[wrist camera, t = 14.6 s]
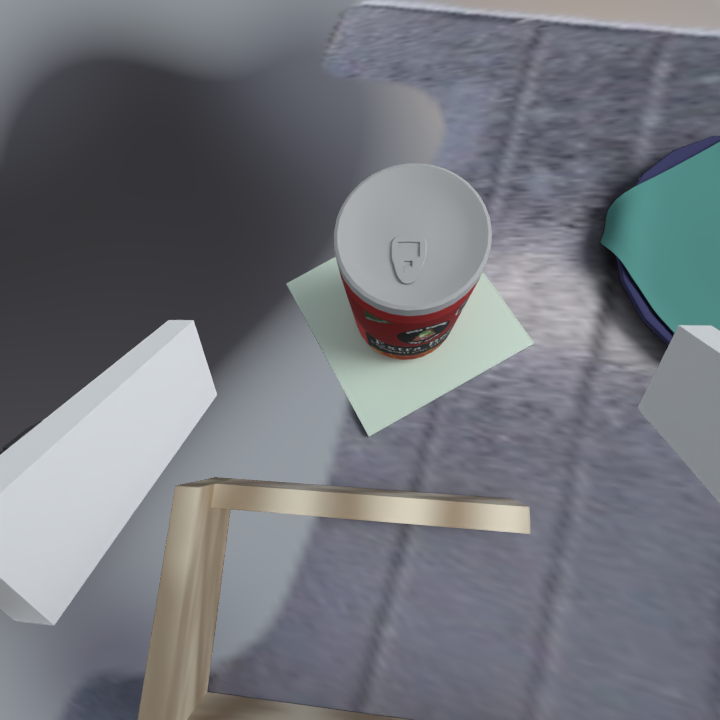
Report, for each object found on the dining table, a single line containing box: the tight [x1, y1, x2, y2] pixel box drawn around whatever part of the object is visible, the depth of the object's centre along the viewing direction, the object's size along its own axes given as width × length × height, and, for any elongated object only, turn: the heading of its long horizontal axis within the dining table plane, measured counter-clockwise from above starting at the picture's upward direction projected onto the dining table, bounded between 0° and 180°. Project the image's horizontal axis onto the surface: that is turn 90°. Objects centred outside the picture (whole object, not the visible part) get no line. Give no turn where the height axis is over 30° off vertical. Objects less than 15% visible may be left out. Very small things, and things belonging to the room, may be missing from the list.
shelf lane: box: [138, 477, 530, 720], centre depth 21 cm, size 22×15×5 cm
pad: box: [287, 257, 534, 436], centre depth 28 cm, size 14×14×1 cm
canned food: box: [334, 163, 492, 360], centre depth 22 cm, size 8×8×11 cm
